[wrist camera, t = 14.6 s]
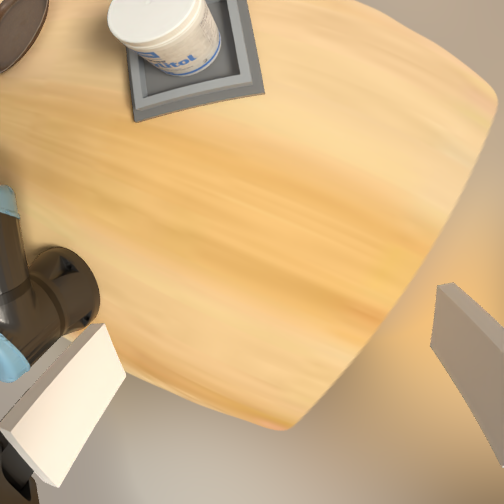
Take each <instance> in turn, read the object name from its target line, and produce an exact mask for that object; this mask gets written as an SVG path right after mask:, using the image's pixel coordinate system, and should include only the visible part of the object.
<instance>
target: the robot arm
mask: <svg viewBox="0 0 504 504" xmlns="http://www.w3.org/2000/svg"><path fill="white" fill-rule="evenodd" d="M19 219H20V215H19V214H18V210H17V203H16V197H15V193H14V191H13V189H12V188H11V187H9V186H7V185H1V184H0V381H2V382H6V383H10V382H14V381H16V380H17V379H18V378H19V377H20V376H22V375H23V374H24V373H25V372H28V371H29V369H30V367H31V366H32V365H33V364H34V363H35V362H36V361H37V360H38V359H39V358H40V357H41V356H42V355H43V354H44V353H45V352H46V351H47V350H48V349H49V348H50V347H51V346H52V345H53V344H54V343H55V342H56V341H57V340H58V339H59V338H60V337H61V336H63V335H66V334H69V333H72V332H75V331H78V330H81V329H83V328H85V327H86V326H87V325H88V324H89V323H90V322H92V321H93V319H94V318H95V317H96V315H97V313H98V311H99V306H100V294H99V289H98V285H97V282H96V280H95V277H94V275H93V273H92V272H91V270H90V268H89V267H88V266H87V264H86V263H85V262H84V261H83V260H82V259H81V258H80V257H79V256H78V255H77V254H75V253H74V252H72V251H70V250H68V249H65V248H61V247H55V248H51V249H49V250H47V251H45V252H43V253H41V254H40V255H39V256H38V257H37V258H36V259H35V260H34V261H33V263H32V264H31V265H30V267H29V268H28V266H27V262H26V257H25V251H24V246H23V240H22V234H21V227H20V220H19ZM430 347H431V348H432V350H433V351H434V353H435V354H436V356H437V357H438V359H439V360H440V362H441V363H442V365H443V366H444V368H445V369H446V371H447V373H448V374H449V376H450V377H451V379H452V381H453V382H454V384H455V385H456V387H457V388H458V390H459V392H460V393H461V395H462V397H463V398H464V400H465V402H466V403H467V405H468V407H469V408H470V410H471V412H472V413H473V415H474V417H475V419H476V420H477V422H478V424H479V426H480V427H481V429H482V431H483V433H484V435H485V437H486V438H487V440H488V442H489V444H490V446H491V448H492V450H493V451H494V453H495V455H496V457H497V459H498V461H499V463H500V465H501V467H502V468H503V467H504V328H503V327H502V326H501V325H500V324H499V323H498V322H497V321H496V320H495V319H494V318H493V317H492V316H491V315H490V314H488V313H487V312H486V311H485V310H484V309H483V308H482V307H481V306H480V305H479V304H478V303H476V302H475V301H474V300H473V299H472V298H471V297H470V296H469V295H467V294H466V293H465V292H464V291H463V290H462V289H460V288H459V287H458V286H457V285H456V284H455V283H448V284H443V285H438V286H437V292H436V303H435V313H434V322H433V329H432V337H431V343H430ZM125 377H126V374H125V372H124V369H123V367H122V365H121V363H120V360H119V358H118V356H117V353H116V351H115V349H114V346H113V344H112V341H111V339H110V336H109V334H108V331H107V329H106V326H105V323H102V324H90V325H89V326H88V327H87V328H86V329H85V330H84V331H83V332H82V333H81V334H80V335H79V336H78V337H77V338H76V339H75V340H74V341H73V342H72V344H71V345H70V346H69V347H68V348H67V349H66V350H65V351H64V352H63V353H62V354H61V355H60V356H59V357H58V358H57V360H55V361H54V362H53V364H52V365H51V366H50V367H49V368H48V369H47V370H46V371H45V372H44V373H43V374H42V375H41V376H40V378H39V379H38V380H37V381H36V382H35V383H34V384H33V385H32V386H31V387H30V388H29V389H28V390H27V391H26V392H25V393H24V395H23V396H22V397H21V399H19V400H18V401H17V403H16V404H15V406H13V407H12V408H11V410H10V411H9V412H8V413H7V414H6V415H5V416H4V418H3V419H2V420H1V421H0V504H39V499H38V494H37V487H36V483H35V480H34V479H33V478H32V477H31V475H32V474H33V472H35V473H36V474H37V475H38V476H39V477H40V478H41V479H42V480H43V481H44V482H46V483H48V484H50V485H53V486H55V487H58V488H59V487H60V485H61V483H62V481H63V480H64V478H65V476H66V474H67V473H68V471H69V469H70V467H71V466H72V464H73V462H74V461H75V459H76V457H77V455H78V454H79V452H80V450H81V449H82V447H83V445H84V444H85V442H86V440H87V439H88V437H89V435H90V434H91V432H92V430H93V429H94V427H95V425H96V423H97V422H98V420H99V419H100V417H101V416H102V414H103V412H104V411H105V409H106V407H107V406H108V404H109V403H110V401H111V399H112V398H113V396H114V394H115V393H116V391H117V389H118V388H119V386H120V385H121V383H122V381H123V380H124V379H125Z"/></svg>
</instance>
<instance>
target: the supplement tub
mask: <svg viewBox="0 0 504 504" xmlns="http://www.w3.org/2000/svg"><path fill="white" fill-rule="evenodd" d="M107 22H108V27H109V29H110V31H111V32H112V34H113V35H114V36H115V37H116V38H117V39H118V40H119V41H120V42H121V43H122V44H124V45H125V46H126V47H128V48H129V49H131V50H132V51H134V52H135V53H137V54H138V55H140V56H141V57H142V58H144V59H145V60H147V61H148V62H150V63H151V64H153V65H154V66H155V67H157V68H158V69H160V70H161V71H163V72H164V73H166V74H169V75H172V76H178V77H184V76H190V75H193V74H196V73H198V72H200V71H202V70H204V69H205V68H207V67H208V66H209V65H210V64H211V63H212V62H213V61H214V60H215V58H216V57H217V55H218V53H219V51H220V48H221V36H220V32H219V30H218V28H217V26H216V23H215V21H214V19H213V17H212V15H211V13H210V10H209V8H208V6H207V4H206V2H205V0H112V2H111V4H110V7H109V10H108V14H107Z"/></svg>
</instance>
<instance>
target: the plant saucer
mask: <svg viewBox="0 0 504 504" xmlns="http://www.w3.org/2000/svg"><path fill="white" fill-rule="evenodd" d="M48 6H49V0H3V1H2V3H1V4H0V73H2V72H4V71H5V70H7V69H8V68H10V67H11V66H13V65H14V64H15V63H16V62H17V61H18V60H20V59H21V58H22V56H23V55H24V54H25V53H26V52H27V51H28V50H29V48H30V47H31V46H32V44H33V43H34V41H35V40H36V38H37V36H38V35H39V33H40V31H41V29H42V27H43V24H44V22H45V19H46V16H47V12H48Z"/></svg>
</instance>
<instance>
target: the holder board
mask: <svg viewBox="0 0 504 504" xmlns="http://www.w3.org/2000/svg"><path fill="white" fill-rule="evenodd" d="M205 2H206V4H207V6H208V8H209V10H210V13H211V15H212V17H213V19H214V21H215V23H216V26H217V28H218V30H219V32H220V36H221V48H220V51H219V53H218V55H217V57H216V58H215V60H214V61H213V62H212V63H211V64H210V65H209V66H208V67H207V68H205V69H204V70H202V71H200V72H198V73H196V74H193V75H190V76H184V77H178V76H172V75H169V74H166V73H164V72H163V71H161V70H160V69H158V68H157V67H155V66H154V65H153V64H151V63H150V62H148V61H147V60H145V59H144V58H142V57H141V56H140V55H138V54H137V53H135V52H134V51H132V50H131V49H129V48H128V47H126V51H127V62H128V72H129V81H130V90H131V98H132V105H133V113H134V120H135V122H136V123H139V122H142V121H145V120H149V119H152V118H156V117H159V116H163V115H167V114H171V113H174V112H178V111H182V110H186V109H191V108H195V107H199V106H204V105H208V104H213V103H218V102H222V101H228V100H233V99H238V98H244V97H250V96H256V95H262V94H265V91H264V85H263V80H262V75H261V69H260V64H259V59H258V54H257V49H256V44H255V39H254V34H253V29H252V24H251V19H250V14H249V10H248V5H247V0H205Z"/></svg>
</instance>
